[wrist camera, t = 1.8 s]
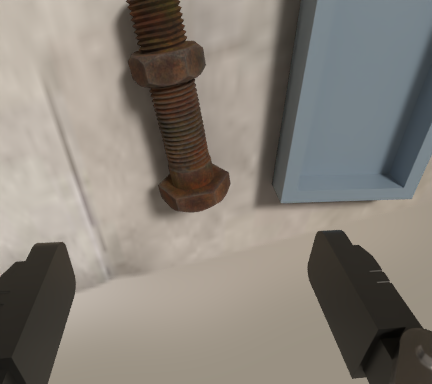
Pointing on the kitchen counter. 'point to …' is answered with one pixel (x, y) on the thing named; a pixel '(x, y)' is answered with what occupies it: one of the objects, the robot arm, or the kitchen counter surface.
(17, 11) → the kitchen counter surface
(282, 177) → the parts tray
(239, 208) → the kitchen counter surface
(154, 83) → the bolt
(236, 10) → the kitchen counter surface
